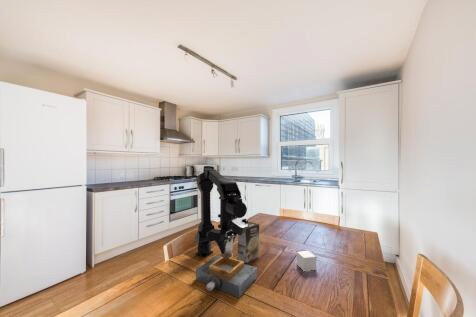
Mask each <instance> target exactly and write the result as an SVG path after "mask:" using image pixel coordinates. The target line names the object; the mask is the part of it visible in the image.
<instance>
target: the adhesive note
mask: <svg viewBox="0 0 476 317" xmlns="http://www.w3.org/2000/svg"><path fill="white" fill-rule="evenodd" d="M297 265H298V266H299V267H300V268H301V269H302V270H303V271H302V270H301V269H300V268H299V267H298V266H297ZM296 266H297V267H298V268H299V269H300V270H301V271H302V272H304V271H307V272H310V271H309V270H315V271H317V256H316V255H315V254H313V253H312V252H311V251H310V250H302V251H296Z"/></svg>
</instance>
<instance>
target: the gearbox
mask: <svg viewBox="0 0 476 317" xmlns="http://www.w3.org/2000/svg"><path fill="white" fill-rule="evenodd" d="M257 279H258V267H256V266H254V265H249V264H248V263H247V264H246V263H245V262H244V261H241V260H239V259H238V258H233V257H230V258H223V257H221V255H216V256H214V257H213V258H211V259H209V260H207V261H206V262H205V263H204V264H202V265H200V266H199V267H197V268H195V281H196V280H197V281H198V282H201V283H203V284H206V290H207V292H211V291H213V290H214V291H219V290H220V291H222V292H224V293H227V294H229V295H230V296H231V295H232V296H234V297H236V298H241V296H242V295H243V294H244V293H245V292H246V291H247V290H248V289H249V287H250V286H251V285H252V284H253V283H254V282H255V281H256V280H257Z"/></svg>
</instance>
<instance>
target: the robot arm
mask: <svg viewBox="0 0 476 317" xmlns="http://www.w3.org/2000/svg"><path fill="white" fill-rule="evenodd" d="M196 184H197V189H198V191H199V192H200V215H201V216H200V217H201V219H200V220H201V221H200V223H199V226H198V227H197V232H196V234H195V236H194V240H195V243H196V244H197V252H195V255H197V256H200V257H203V258H207V257H208V256H210V255H212V254H213V253H214V251H213V250H212V242H215V243H216V244H217V247H218V248H219V252H220V254H221V253H222V254H224V253H225V244H226V240H227V239H228V237H226V235H227V234H228V235H232V234H234V237H233V244H234V242H235V240H236V237H237V236H238V235H242V234H243V233H245V232H246V229H247V228H248V227H249V226H248V225H249V224H248V222H249V218H246V217H245V216H246V214H247V212H248V211H247V210H248V207H247V205H246V204H245V203H244V202H243V199H242V193H241V191H240V189H239V185H238V183H237V181H235V180H234V179H231V178H226V177H224V175H222V174H221V173H219V172H218V171H217V169H215V168H214V169H213V168H212V169H211V168H207V169H206V170H204V172H202V173H200V174H199V175H198V176H197V177H196ZM214 185H215V186H216V191H217V192H218V195H219V197H218V200H219V201H220V204H219V206H220V208H219V210H220V212H219V213H218V214H217V218H219V224H217V228H215V225H214V224H213V222H212V221H211V219H212V218H211V213H212V212H211V210H212V209H211V208H212V207H211V192H212V190H213V189H214ZM243 217H245V218H243ZM242 218H243V219H242Z"/></svg>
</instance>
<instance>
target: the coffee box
mask: <svg viewBox="0 0 476 317" xmlns="http://www.w3.org/2000/svg"><path fill="white" fill-rule="evenodd" d="M248 224H249V225H248V226H249V227H248V228H247V229H246V232H245V233H243V234H242V235H238V234H237V254H236V255H237V257H236V259H237V260H240V261H244V264H246V263H247V264H248V263H249V262H252V261H254V260H256V259H257V258H260V224H259V223H256V222H251V221H250V222H249V221H248Z"/></svg>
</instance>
